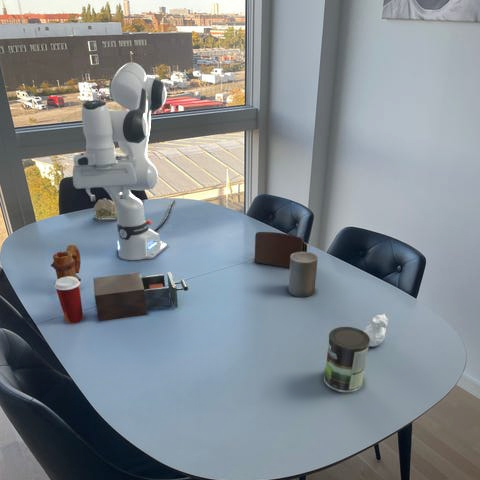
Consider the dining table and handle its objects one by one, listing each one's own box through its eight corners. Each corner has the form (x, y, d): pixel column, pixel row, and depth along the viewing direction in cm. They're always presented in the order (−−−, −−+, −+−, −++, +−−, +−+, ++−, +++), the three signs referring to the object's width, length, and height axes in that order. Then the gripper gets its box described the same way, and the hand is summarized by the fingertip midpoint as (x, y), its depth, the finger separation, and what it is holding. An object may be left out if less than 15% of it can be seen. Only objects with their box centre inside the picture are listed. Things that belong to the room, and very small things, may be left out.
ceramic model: (90, 219, 240) (87, 200, 235) (99, 213, 249) (96, 194, 244) (116, 221, 238) (113, 202, 233) (124, 214, 247) (121, 195, 242)
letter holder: (300, 270, 187) (303, 236, 180) (254, 262, 193) (254, 230, 186) (306, 260, 195) (309, 228, 188) (261, 254, 201) (262, 222, 194)
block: (163, 295, 164) (162, 283, 162) (165, 300, 160) (164, 289, 158) (150, 296, 163) (148, 284, 161) (151, 302, 159) (150, 290, 157)
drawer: (184, 290, 170) (182, 270, 166) (190, 305, 160) (189, 285, 156) (131, 296, 165) (128, 276, 161) (134, 313, 155) (132, 292, 151)
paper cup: (91, 315, 155) (84, 277, 148) (77, 326, 149) (69, 287, 142) (71, 311, 158) (63, 274, 150) (56, 322, 151) (47, 284, 144)
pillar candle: (317, 288, 173) (321, 250, 166) (309, 299, 166) (313, 260, 158) (293, 283, 177) (295, 246, 169) (284, 294, 169) (286, 255, 162)
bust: (359, 356, 139) (384, 341, 130) (344, 335, 141) (368, 319, 132) (382, 342, 146) (407, 326, 137) (368, 322, 148) (392, 305, 139)
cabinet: (142, 296, 167) (139, 272, 162) (147, 315, 156) (144, 289, 151) (97, 302, 163) (93, 277, 158) (99, 321, 152) (94, 295, 147)
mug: (73, 297, 167) (65, 258, 159) (52, 294, 168) (43, 256, 161) (92, 279, 179) (85, 242, 171) (72, 277, 181) (65, 241, 173)
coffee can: (329, 394, 121) (334, 349, 114) (319, 370, 130) (324, 327, 123) (367, 392, 122) (375, 347, 114) (356, 368, 131) (362, 325, 123)
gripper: (133, 153, 154) (138, 194, 161) (69, 156, 149) (76, 199, 156) (135, 157, 149) (140, 199, 156) (68, 160, 144) (76, 204, 151)
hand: (108, 199), depth 156 cm, fingers open, 8 cm apart
